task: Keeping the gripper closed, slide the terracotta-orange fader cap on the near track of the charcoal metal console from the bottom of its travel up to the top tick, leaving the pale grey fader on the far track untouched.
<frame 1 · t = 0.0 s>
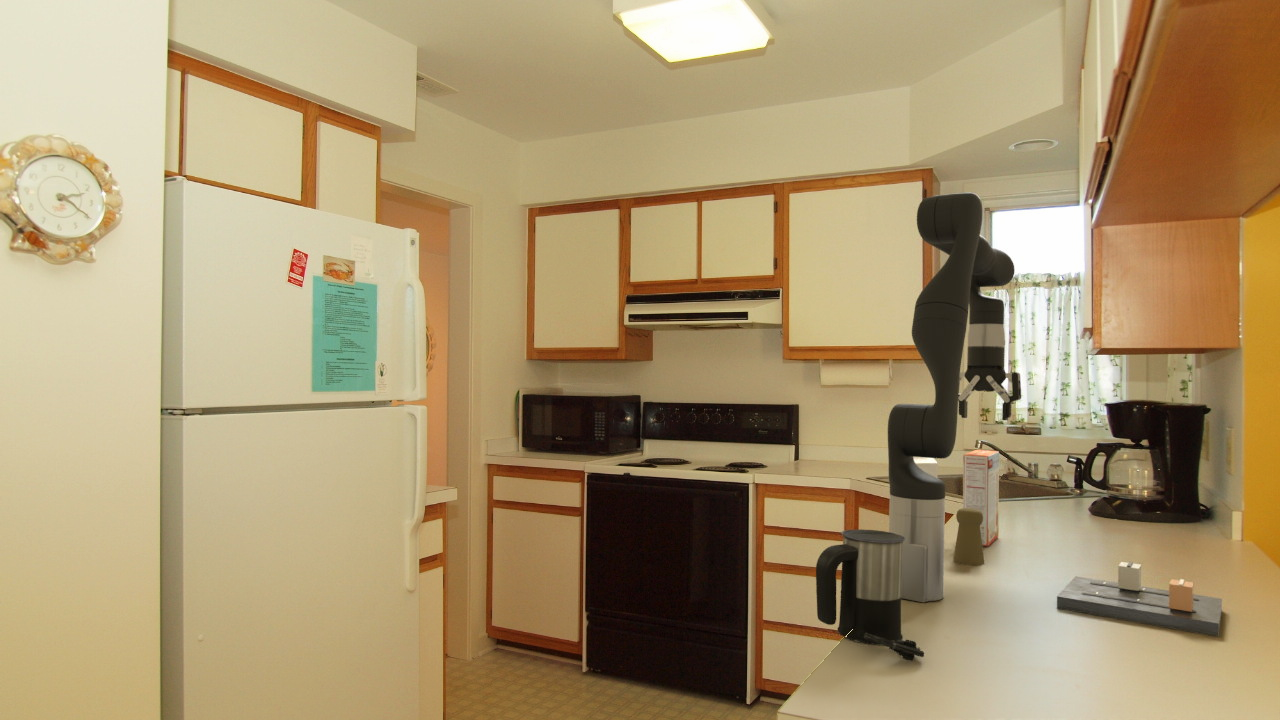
hand: (984, 419, 178), 29 cm above the countertop, fingers open, 8 cm apart
console: (1139, 609, 136), on the countertop
cracker box: (980, 541, 191), on the countertop
fader grey: (1129, 575, 141), point 4 cm above the countertop, slide at 8.0 cm
milk frother: (880, 646, 115), on the countertop
fader orange: (1181, 594, 129), point 4 cm above the countertop, slide at 0.0 cm
cork: (968, 562, 169), on the countertop
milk: (916, 545, 185), on the countertop
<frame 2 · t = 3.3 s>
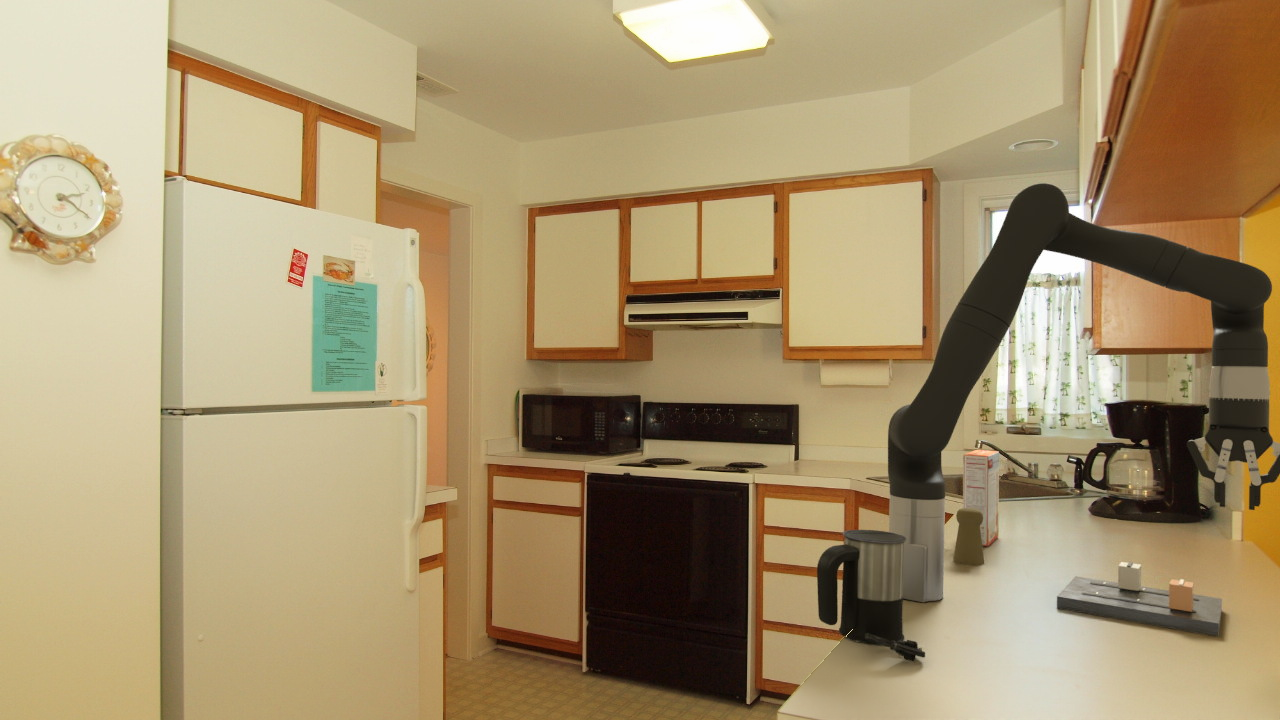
hand: (1237, 507, 125), 19 cm above the countertop, fingers open, 3 cm apart
nothing on the countertop moved.
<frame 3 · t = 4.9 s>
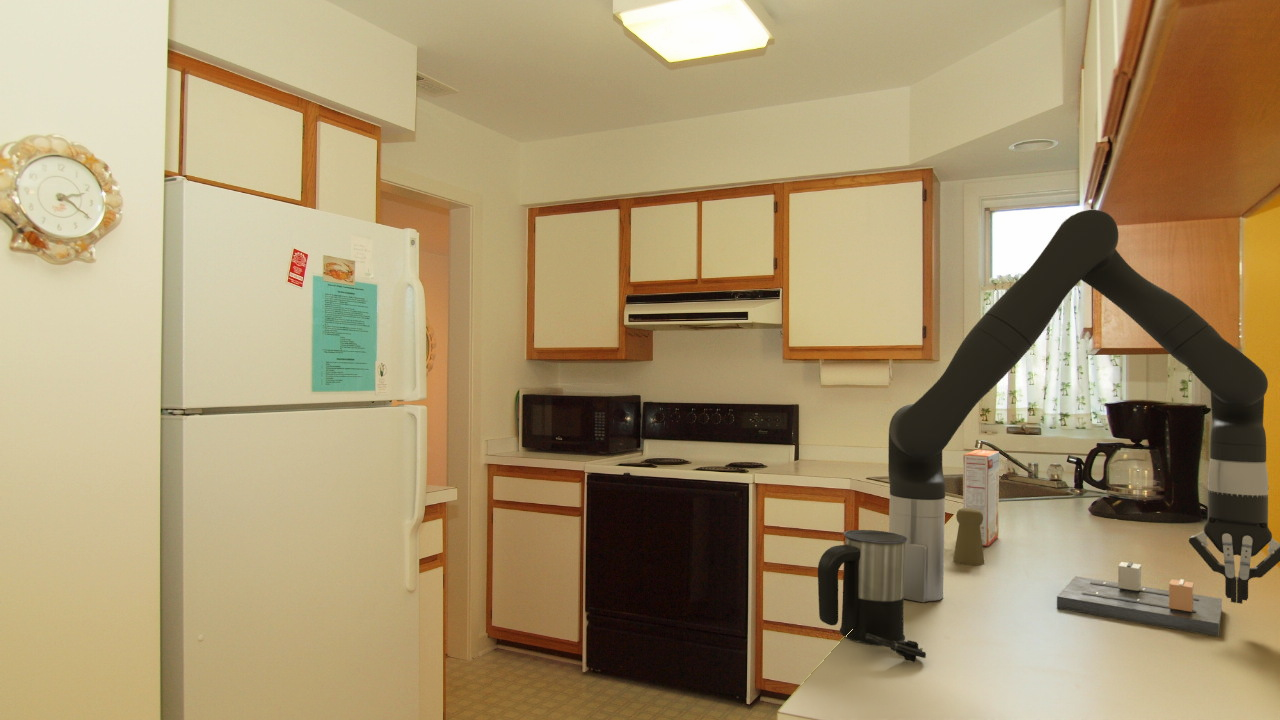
hand: (1236, 601, 125), 5 cm above the countertop, fingers closed
nothing on the countertop moved.
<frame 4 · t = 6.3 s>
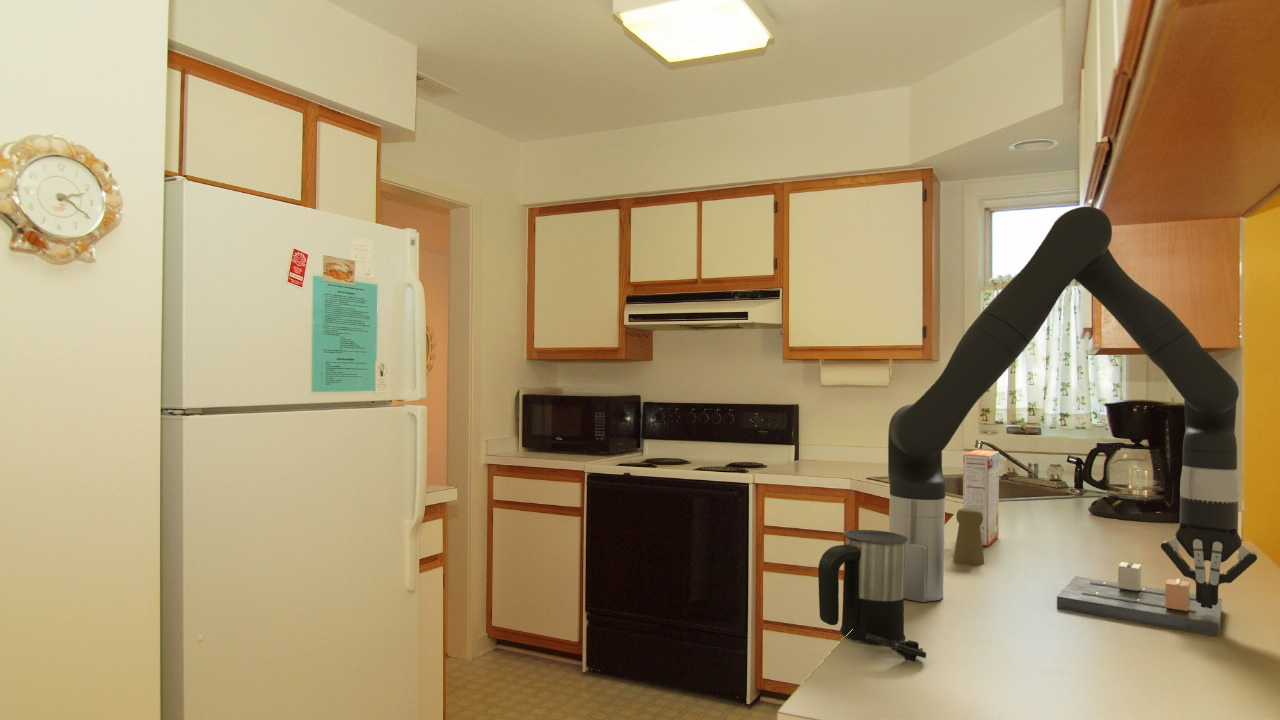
hand: (1207, 606, 127), 3 cm above the countertop, fingers closed
fader orange: (1177, 593, 130), point 4 cm above the countertop, slide at 0.5 cm, touching gripper
everything else where it was.
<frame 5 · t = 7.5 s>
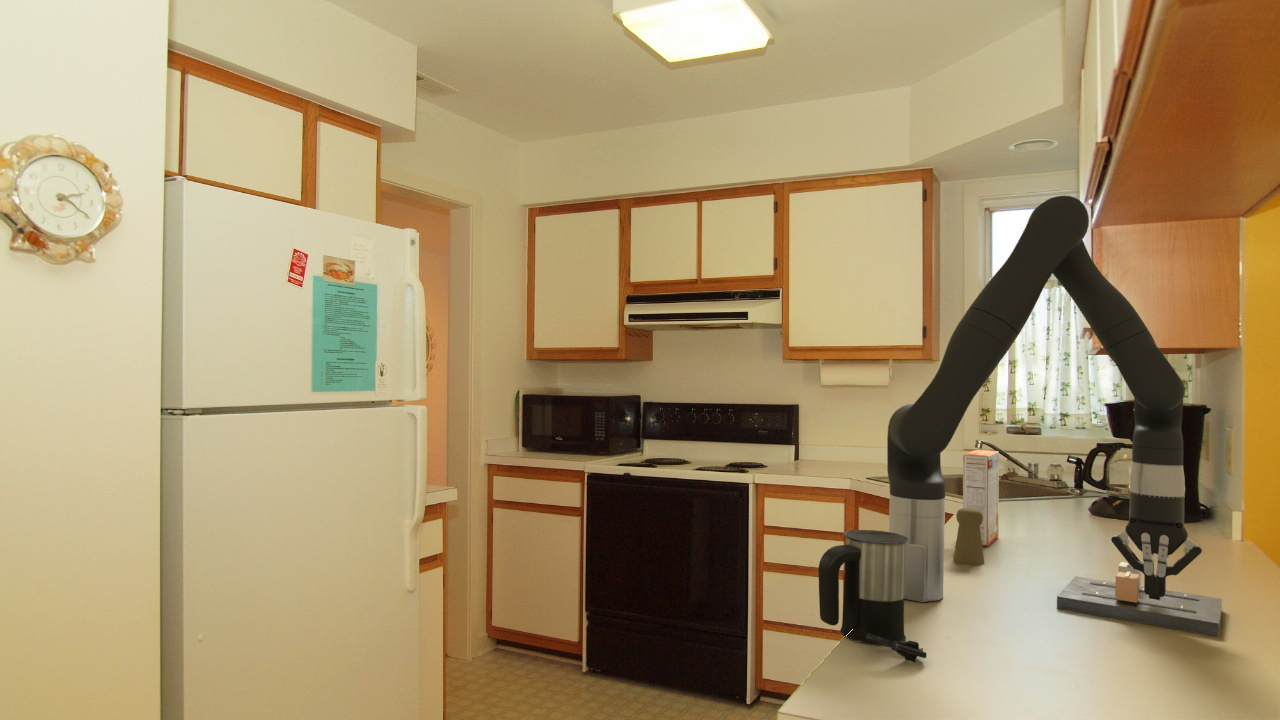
hand: (1155, 598, 131), 3 cm above the countertop, fingers closed
fader orange: (1127, 586, 134), point 4 cm above the countertop, slide at 7.4 cm, touching gripper
everything else where it was.
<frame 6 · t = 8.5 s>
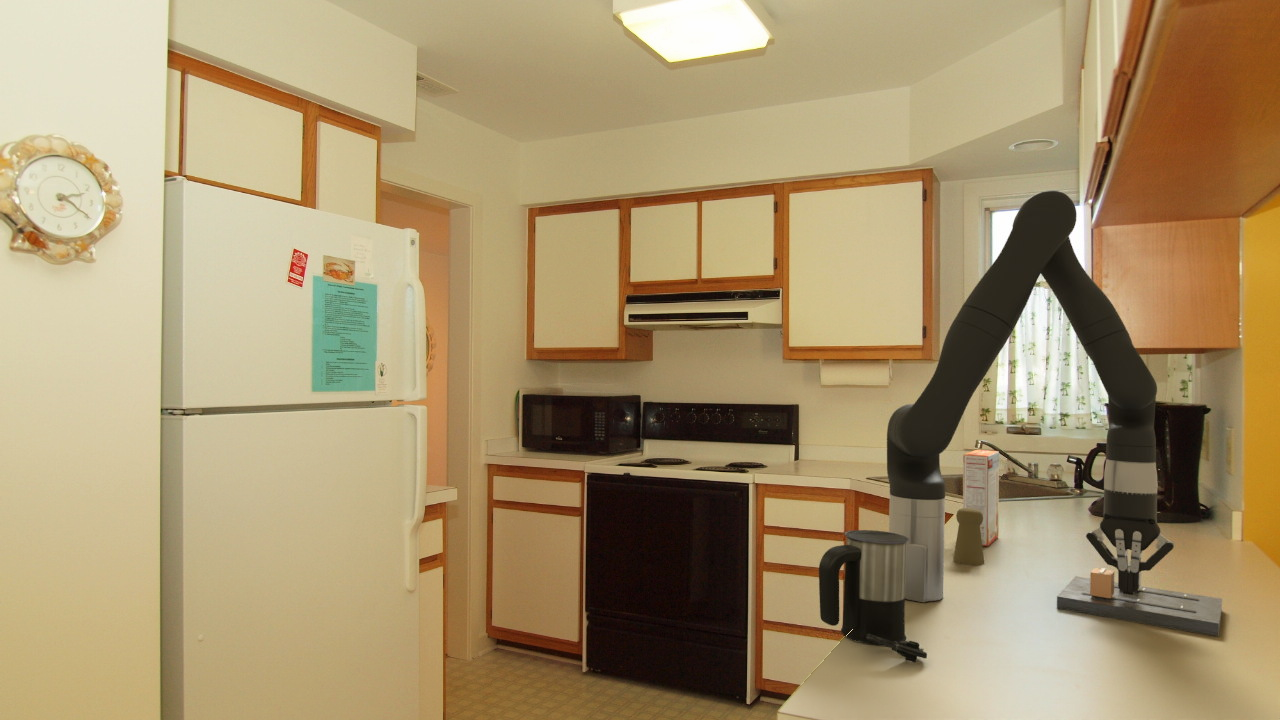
hand: (1128, 593, 134), 3 cm above the countertop, fingers closed
fader orange: (1102, 582, 136), point 4 cm above the countertop, slide at 11.0 cm, touching gripper
everything else where it was.
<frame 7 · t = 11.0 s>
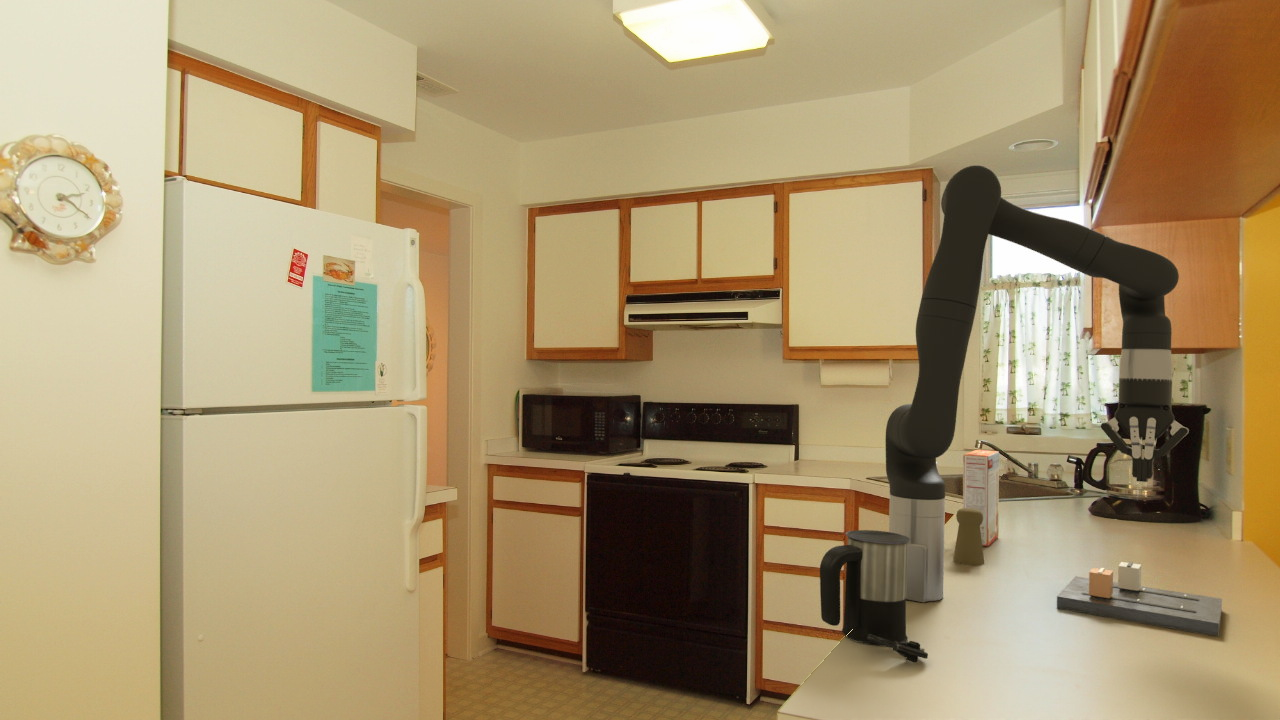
hand: (1142, 481, 135), 22 cm above the countertop, fingers closed
fader orange: (1101, 582, 136), point 4 cm above the countertop, slide at 11.2 cm
everything else where it was.
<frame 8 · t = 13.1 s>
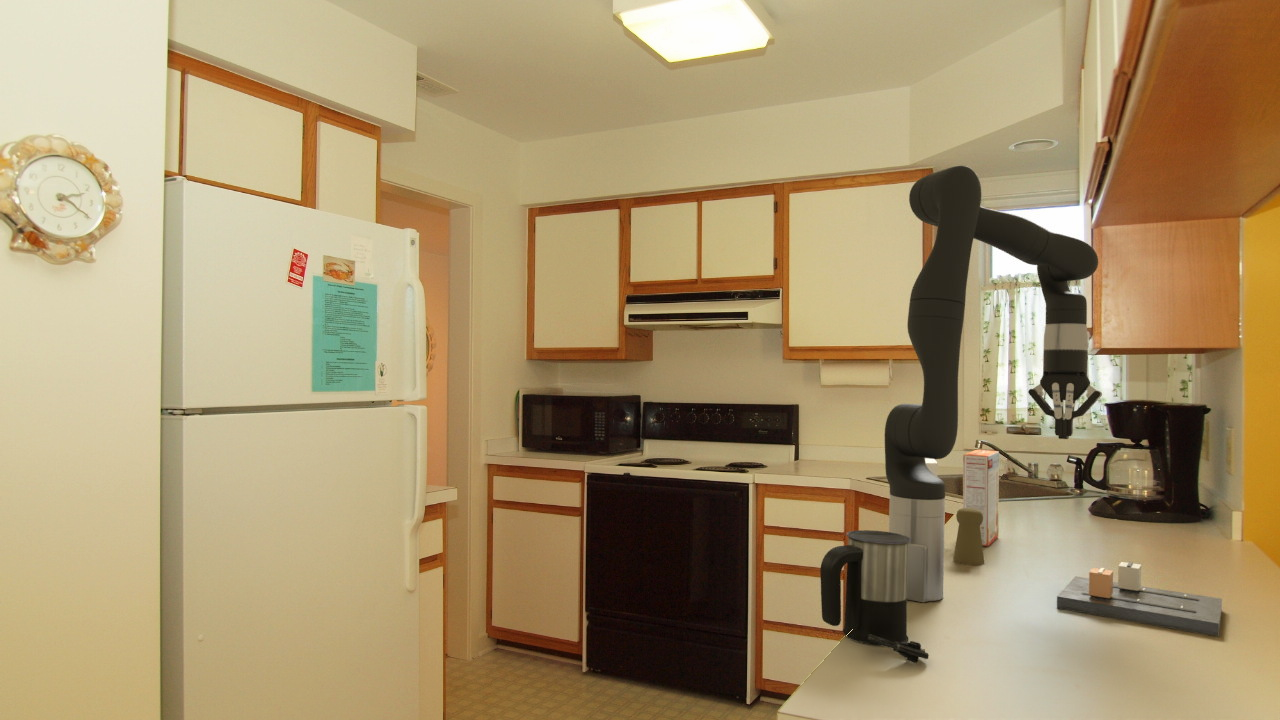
hand: (1063, 438, 155), 27 cm above the countertop, fingers closed
nothing on the countertop moved.
at the end: fader orange slide at 11.2 cm; fader grey slide at 8.0 cm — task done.
